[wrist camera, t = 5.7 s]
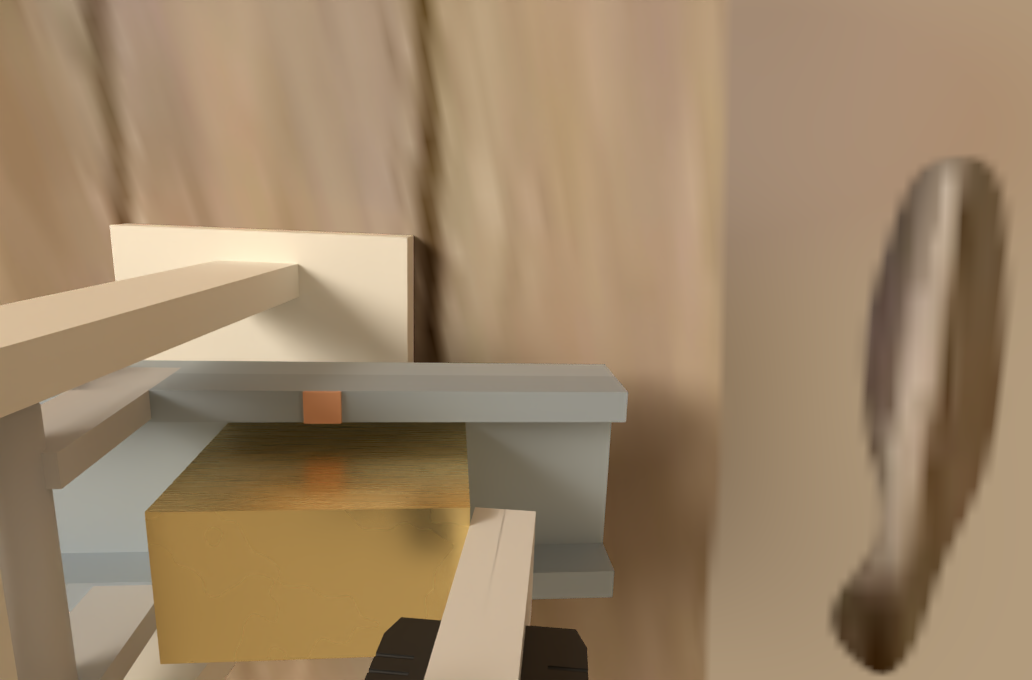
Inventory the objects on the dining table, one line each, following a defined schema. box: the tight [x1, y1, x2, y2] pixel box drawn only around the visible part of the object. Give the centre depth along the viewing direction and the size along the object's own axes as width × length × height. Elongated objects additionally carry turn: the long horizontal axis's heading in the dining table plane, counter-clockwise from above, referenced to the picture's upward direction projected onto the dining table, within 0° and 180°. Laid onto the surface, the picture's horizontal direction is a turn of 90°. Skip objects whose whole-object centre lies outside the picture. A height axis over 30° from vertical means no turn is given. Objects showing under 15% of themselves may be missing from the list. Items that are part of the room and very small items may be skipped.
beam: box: [0, 360, 628, 680], centre depth 17 cm, size 8×28×8 cm, turn 88°
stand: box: [0, 224, 414, 680], centre depth 19 cm, size 14×11×16 cm
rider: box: [145, 422, 470, 664], centre depth 18 cm, size 4×7×6 cm, turn 88°
